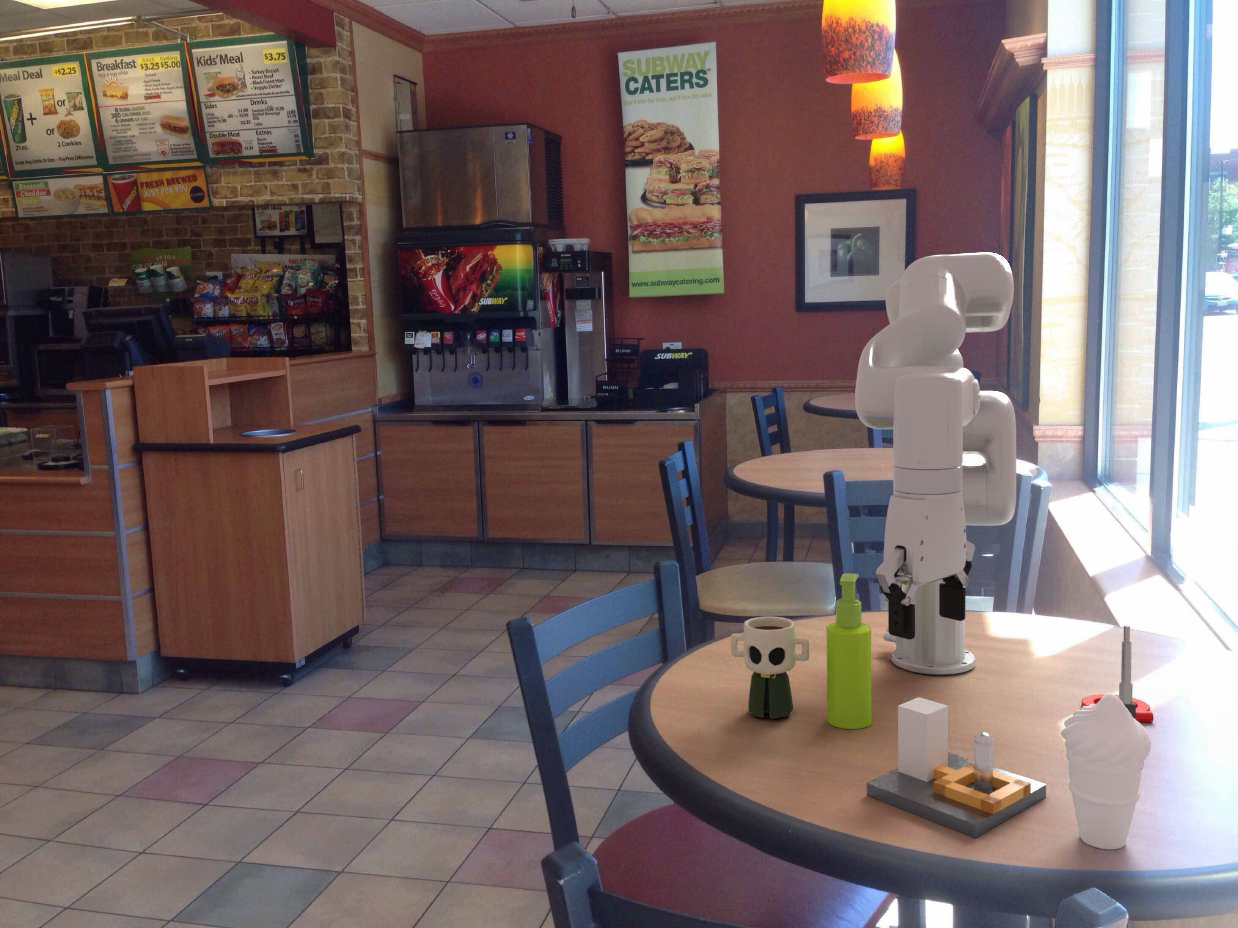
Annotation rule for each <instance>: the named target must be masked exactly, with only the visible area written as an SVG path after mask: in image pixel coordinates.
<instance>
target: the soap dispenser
mask: <svg viewBox="0 0 1238 928" xmlns="http://www.w3.org/2000/svg"><path fill="white" fill-rule="evenodd" d="M859 577H860V576H859V573H848V572H847V573H845V572H844V573H842V575H841V577H840V579H839V585H840V586H841V598H839V599H837V600H836V601H835V622H833V623H829V624H828V625H826V628H825V629H826V635H825V636H826V697H827V698H826V699H827V700H826V701H827V702H826V705H827V708H826V709H827V715H826V716H827V722H828V723H829V724H830V725H832V726H833V727H836V728H840V729H845V730H858V729H864V728H867V727H869V726H870V725H872V721H873V718H872V716H873V715H872V713H873V711H872V709H873V707H872V706H873V701H872V697H873V696H872V690H873V689H872V679H873V678H872V627H871V626H870V625H868V624H866V623H862V622H863V621H862V619H863V618H862V602H861V601H860V600H858V599H857V598H856V588H855V587H856V581H857V579H858V578H859Z"/></svg>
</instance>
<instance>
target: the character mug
mask: <svg viewBox="0 0 1238 928" xmlns="http://www.w3.org/2000/svg"><path fill="white" fill-rule="evenodd" d="M738 641H739V642H740V641H741V642H742V641H743V649H739V646H738ZM796 645H801V651H802V653H796ZM730 652H731V653H730V654H731V655H732V656H733V657H737V658H738V657H739V658H743V659H744V665H745V667H746V668H747V669H748V670H750V671H752V674H751V677H750V685H749V692H748V693H749V694H748V706H747V707H748V713H749V714H751V715H752V716H756V717H759V718H764V717H765V716H764V714H765V713H769V718H770V719H778V718H783V717H787V716H790V715H791V713H792V712H793V711H794V704H793V696H792V689H791V683H790V677H789V674H788V673H787V672H790V671H791V670H793V668H794V667H795V665H796V663H797V662H796V661H798V662H806V661H809V660H810V641H809V638H807V637H803V636H802V637H800V636H796V625H795V621H793V620H792V619H790V618H789V619H788V618H785V617H782V616H781V617H779V616H760V617H758V616H757V617H753V618H750V619H747V620H745V621H744V622H743V633H732V634H731V635H730ZM794 669H795V668H794Z"/></svg>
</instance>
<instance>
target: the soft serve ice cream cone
mask: <svg viewBox="0 0 1238 928" xmlns="http://www.w3.org/2000/svg"><path fill="white" fill-rule="evenodd" d="M1104 694H1105V695H1104V696H1103V697H1102V698H1101V700H1100V701H1099V702H1098V703H1097V704H1090V705H1089V706H1083V707H1082V706H1081V709H1077V710H1075V711H1074V712H1073V714H1072V716H1071V717H1069V718H1067V719H1066V720H1064V723H1063V725H1064V726H1065V728H1063V729H1062V730H1061V732H1060V735H1061V737H1062V738H1063V739H1064V746H1065V747H1066V753H1065V755H1066V756H1065V757H1066V759H1067V761H1068V773H1069V774H1068V775H1069V782H1068V788H1069V791H1070V792H1071V798H1072V801H1073V809H1074V813H1075V816H1076V822H1077V827H1078V834H1079V837H1080V839H1081V841H1082V842H1084V844H1087V845H1089V846H1090V847H1094V848H1097V849H1100V850H1101V849H1102V850H1119V849H1122V848H1123V847H1124V846H1125V845H1126V843H1127V839H1128V835H1129V831H1130V828H1131V824H1132V819H1133V816H1134V812H1135V809H1136V805H1137V802H1138V801H1139V799H1140V796H1141V793H1140V784H1141V777H1142V771H1143V769H1144V767H1145V760H1146V758H1148V756H1149V754H1150V751H1151V747H1152V741H1151V737H1150V734H1149V733H1148V731H1147V729H1146V728H1145V727H1144V726H1143V725H1142V724H1141V722H1138V721H1137V720H1135V719H1134V718H1133V717H1132V715H1131V713H1130V712H1129V711H1128V709H1127V708H1126V707H1125V705H1124V704H1123V702H1122V701H1121V700H1120V699H1119V698H1118V697H1117V696H1115V695H1116V694H1113V693H1110V692H1106V693H1104Z"/></svg>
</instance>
